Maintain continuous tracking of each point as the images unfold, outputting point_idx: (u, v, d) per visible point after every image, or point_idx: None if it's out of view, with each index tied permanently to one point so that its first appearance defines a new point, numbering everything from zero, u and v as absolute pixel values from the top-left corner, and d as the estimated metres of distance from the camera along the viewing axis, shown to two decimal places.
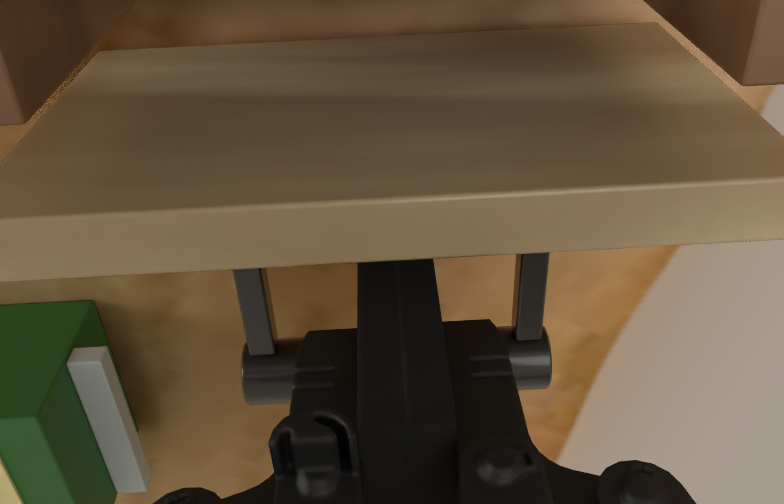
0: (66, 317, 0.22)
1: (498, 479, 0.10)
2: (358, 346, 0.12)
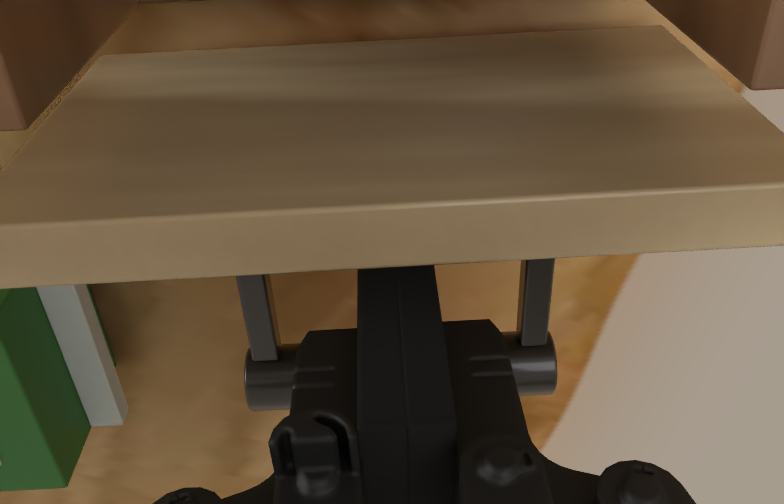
0: None
1: (497, 480, 0.10)
2: (358, 346, 0.12)
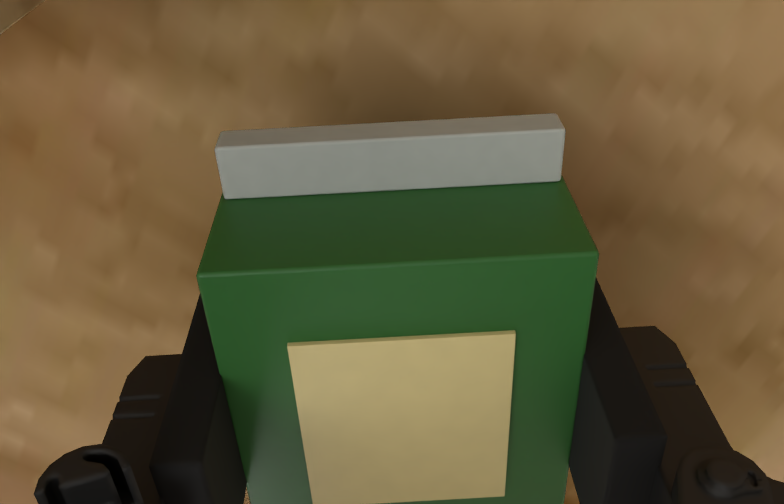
0: None
1: (718, 492, 0.10)
2: (177, 375, 0.12)
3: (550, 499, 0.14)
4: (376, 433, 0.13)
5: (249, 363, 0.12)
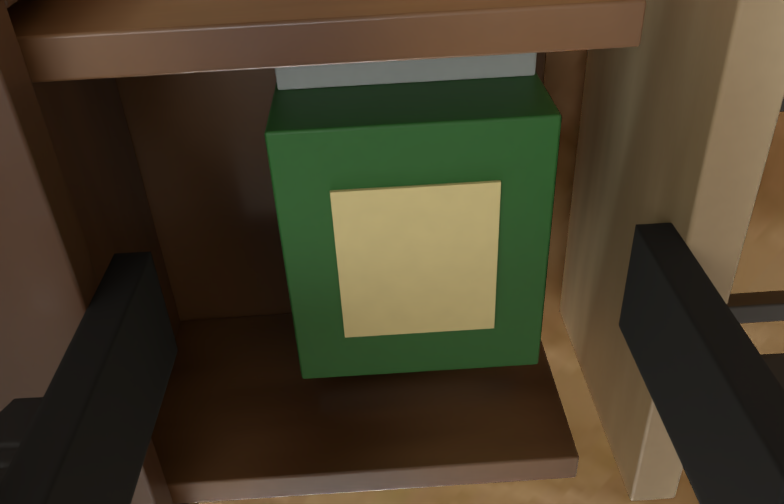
0: None
1: None
2: (30, 424, 0.11)
3: (530, 333, 0.18)
4: (395, 269, 0.16)
5: (300, 208, 0.16)
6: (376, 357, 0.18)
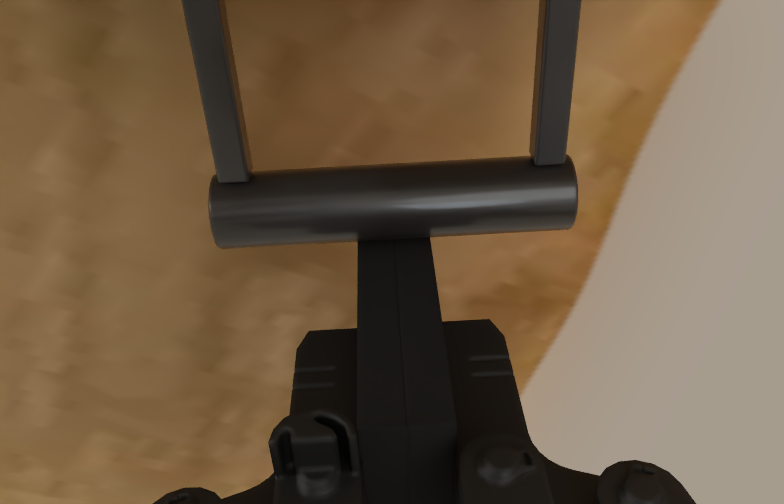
0: None
1: (497, 480, 0.10)
2: (358, 346, 0.12)
3: None
4: None
5: None
6: None
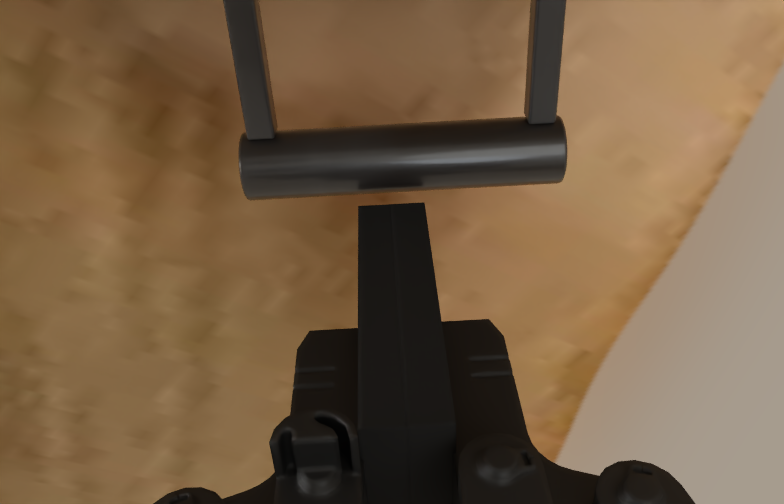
0: None
1: (497, 480, 0.10)
2: (359, 346, 0.12)
3: None
4: None
5: None
6: None
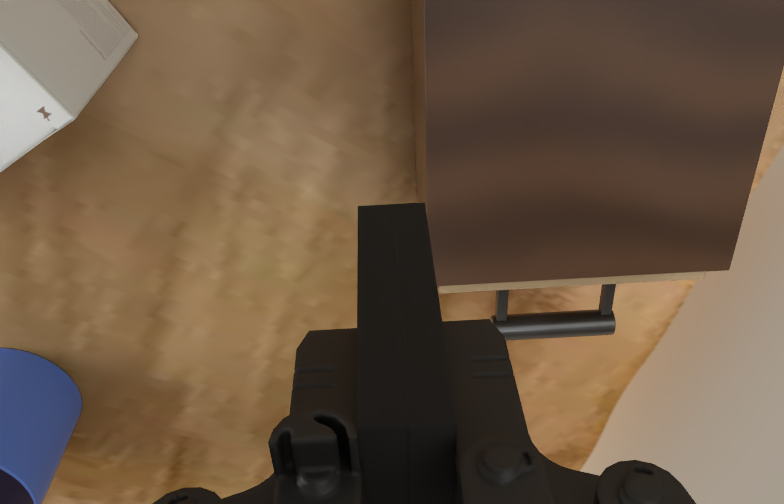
0: None
1: (498, 479, 0.10)
2: (358, 346, 0.12)
3: None
4: None
5: None
6: None
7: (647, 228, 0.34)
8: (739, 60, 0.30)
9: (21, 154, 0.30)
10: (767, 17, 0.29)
